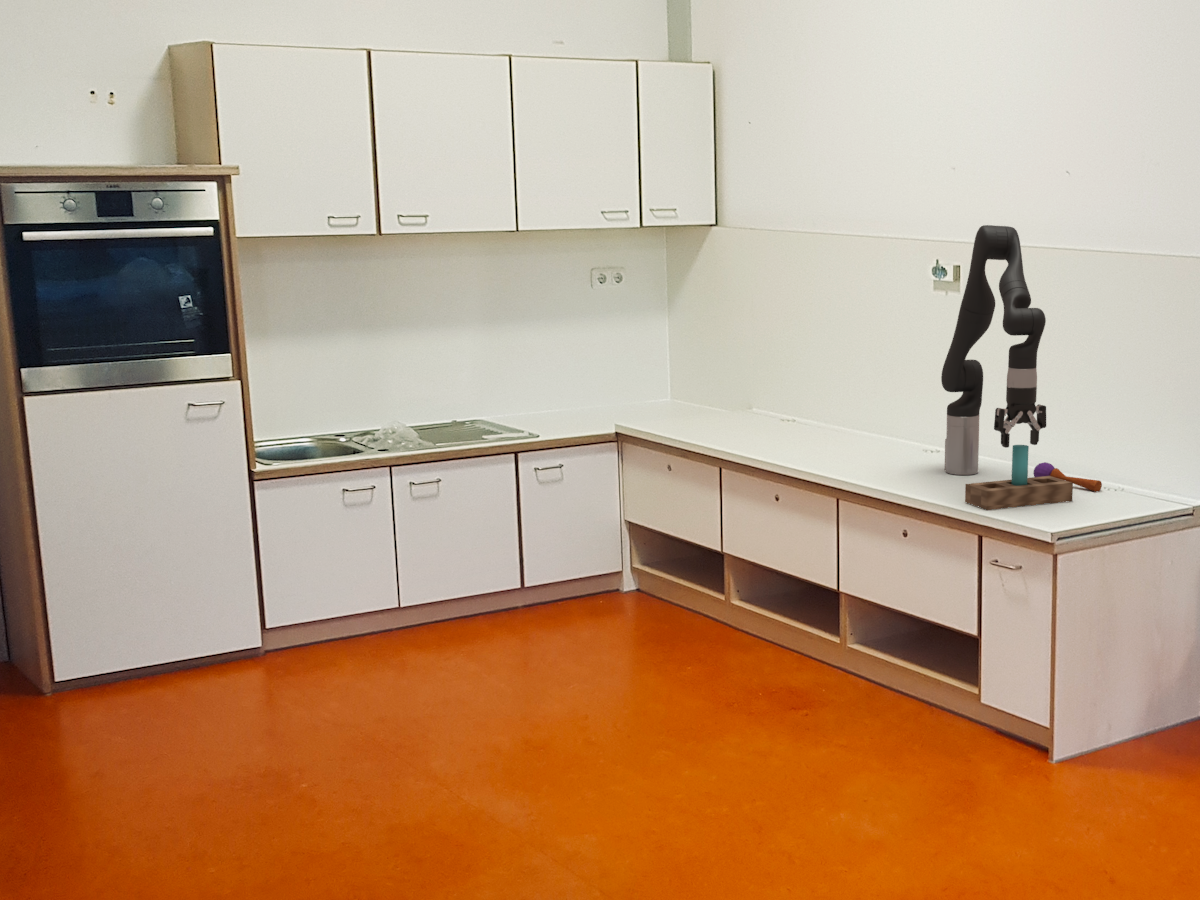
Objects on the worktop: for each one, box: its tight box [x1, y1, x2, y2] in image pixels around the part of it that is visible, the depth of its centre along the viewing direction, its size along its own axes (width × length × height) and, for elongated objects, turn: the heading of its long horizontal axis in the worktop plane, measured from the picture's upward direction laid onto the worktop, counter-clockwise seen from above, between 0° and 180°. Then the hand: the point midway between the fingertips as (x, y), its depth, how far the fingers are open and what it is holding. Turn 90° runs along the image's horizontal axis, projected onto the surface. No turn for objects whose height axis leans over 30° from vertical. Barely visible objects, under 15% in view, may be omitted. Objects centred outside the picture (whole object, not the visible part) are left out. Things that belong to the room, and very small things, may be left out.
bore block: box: [964, 476, 1074, 511], centre depth 354 cm, size 26×10×5 cm, turn 107°
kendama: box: [1033, 462, 1103, 493], centre depth 371 cm, size 6×6×20 cm
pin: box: [1011, 444, 1030, 486], centre depth 353 cm, size 4×4×14 cm
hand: (1019, 445), depth 352 cm, fingers open, 8 cm apart
